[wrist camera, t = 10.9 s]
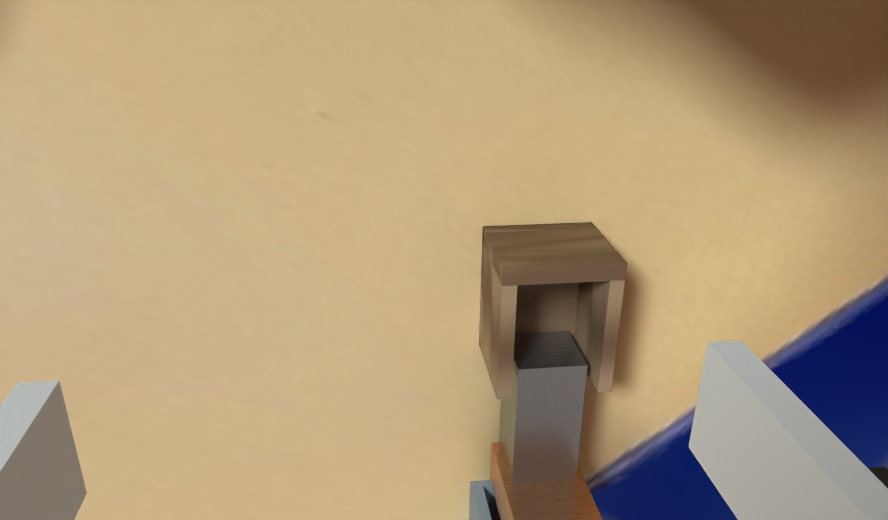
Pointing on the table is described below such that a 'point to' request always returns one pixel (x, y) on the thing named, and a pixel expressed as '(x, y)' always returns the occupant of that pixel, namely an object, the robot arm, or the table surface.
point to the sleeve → (550, 295)
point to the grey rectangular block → (482, 501)
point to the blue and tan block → (542, 433)
